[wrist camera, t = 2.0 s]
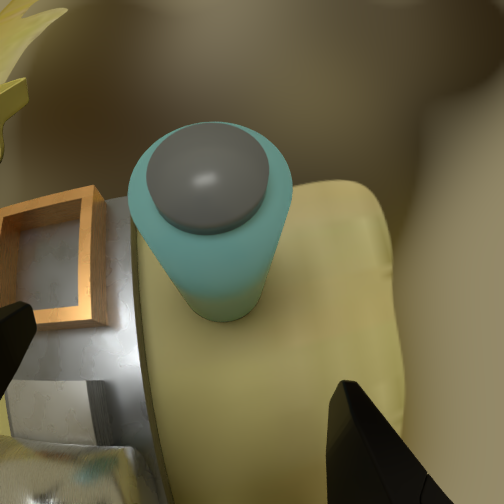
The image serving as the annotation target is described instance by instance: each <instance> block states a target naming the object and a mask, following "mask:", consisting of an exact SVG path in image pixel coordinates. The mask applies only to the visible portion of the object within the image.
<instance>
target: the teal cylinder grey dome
mask: <svg viewBox="0 0 504 504" xmlns="http://www.w3.org/2000/svg"><path fill="white" fill-rule="evenodd" d="M292 191H293V190H292V178H291V173H290V170H289V167H288V165H287V163H286V161H285V159H284V157H283V156H282V154H281V153H280V152H279V150H278V149H277V148H276V147H275V146H274V145H273V144H272V143H271V142H270V141H269V140H267V139H266V138H265V137H264V136H262V135H260V134H259V133H257V132H255V131H253V130H251V129H249V128H246V127H243V126H240V125H236V124H232V123H225V122H203V123H197V124H192V125H188V126H185V127H182V128H179V129H177V130H174V131H172V132H171V133H169V134H167V135H165V136H164V137H162V138H160V139H159V140H158V141H156V142H155V143H154V144H153V145H152V146H150V148H149V149H148V150H147V151H146V152H145V153H144V154H143V155H142V157H141V158H140V160H139V161H138V163H137V164H136V166H135V168H134V170H133V173H132V175H131V179H130V182H129V188H128V205H129V209H130V214H131V216H132V219H133V221H134V223H135V225H136V227H137V228H138V230H139V232H140V233H141V235H142V236H143V238H144V240H145V241H146V243H147V244H148V246H149V247H150V249H151V250H152V252H153V253H154V255H155V256H156V258H157V259H158V261H159V262H160V264H161V265H162V267H163V268H164V270H165V271H166V273H167V274H168V276H169V277H170V279H171V280H172V282H173V283H174V285H175V286H176V287H177V289H178V290H179V292H180V293H181V295H182V296H183V297H184V299H185V300H186V302H187V303H188V305H189V306H190V307H191V308H192V309H193V311H195V312H196V313H197V314H198V315H200V316H201V317H203V318H205V319H208V320H211V321H215V322H229V321H234V320H237V319H239V318H241V317H243V316H245V315H246V314H247V313H249V312H250V311H251V310H252V309H253V308H254V306H255V305H256V304H257V302H258V300H259V298H260V296H261V293H262V290H263V287H264V284H265V281H266V278H267V275H268V272H269V269H270V266H271V263H272V260H273V257H274V254H275V251H276V247H277V244H278V241H279V238H280V235H281V232H282V229H283V226H284V223H285V220H286V217H287V214H288V211H289V207H290V204H291V200H292Z"/></svg>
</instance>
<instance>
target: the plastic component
mask: <svg viewBox="0 0 504 504" xmlns="http://www.w3.org/2000/svg"><path fill="white" fill-rule="evenodd" d="M28 102H29V96H28V89H27V83H26V78H20V79H17V80H13V81H10V82H7V83H4V84H1V85H0V163H1V161H2V159H3V155H4V140H3V126H4V123H5V122H6V121H7V120H8V119H9V118H10V117H12V116H13V115H14V114H15V113H16V112H18V111H19V110H20V109H22V108H23V107H24V106H26V104H27V103H28Z"/></svg>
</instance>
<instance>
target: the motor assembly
mask: <svg viewBox="0 0 504 504" xmlns="http://www.w3.org/2000/svg"><path fill="white" fill-rule="evenodd" d="M18 301H23V302H26V303H28V304H30V305H31V306H32V308H33V312H34V316H35V320H36V324H37V331H36V334H35V336H34V338H33V340H32V342H31V344H30V346H29V348H28V350H27V352H26V354H25V356H24V358H23V360H22V362H21V364H20V366H19V368H18V370H17V372H16V374H15V376H14V377H13V379H12V381H11V382H10V384H9V386H8V388H7V389H6V391H5V400H6V407H7V414H8V420H9V425H10V431H11V436H12V437H10V436H4V435H0V504H174V500H173V496H172V492H171V488H170V485H169V481H168V476H167V472H166V468H165V464H164V459H163V455H162V450H161V445H160V441H159V436H158V431H157V425H156V420H155V414H154V409H153V403H152V397H151V390H150V384H149V377H148V370H147V363H146V355H145V347H144V338H143V328H142V318H141V307H140V294H139V280H138V262H137V235H136V225H135V223H134V221H133V219H132V216H131V214H130V209H129V205H128V196H125V197H120V198H115V199H109V200H104V199H103V198H102V196H101V195H100V193H99V192H98V190H97V189H96V188H95V186H94V185H91V186H86V187H82V188H78V189H73V190H68V191H64V192H60V193H56V194H52V195H48V196H44V197H40V198H36V199H32V200H29V201H25V202H21V203H18V204H14V205H10V206H7V207H4V208H0V308H1V307H4V306H7V305H10V304H12V303H15V302H18Z"/></svg>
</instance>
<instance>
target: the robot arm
mask: <svg viewBox="0 0 504 504" xmlns="http://www.w3.org/2000/svg"><path fill="white" fill-rule="evenodd" d="M36 331H37V324H36V320H35V316H34V312H33V308H32V306H31V305H30V304H28V303H26V302H23V301H18V302H15V303H12V304H10V305H7V306H4V307H1V308H0V400H1V398H2V396H3V395H4V393H5V391H6V389H7V388H8V386H9V384H10V382H11V381H12V379H13V377H14V376H15V374H16V372H17V370H18V368H19V366H20V364H21V362H22V360H23V358H24V356H25V354H26V352H27V350H28V348H29V346H30V344H31V342H32V340H33V338H34V336H35V334H36ZM326 472H327V501H328V504H454V503H453V502H452V501H451V500H450V499H449V498H448V497H447V496H446V494H445V493H444V492H443V491H442V490H441V488H440V487H439V486H438V485H437V484H436V482H435V481H434V480H433V478H432V477H431V476H430V475H429V474H427V471H426V470H425V468H424V467H423V466H422V465H421V463H420V462H419V461H418V459H417V458H416V457H415V456H414V454H413V453H412V452H411V451H410V449H409V448H408V447H407V445H406V444H405V443H404V442H403V440H402V439H401V438H400V436H399V435H398V434H397V433H396V431H395V430H394V429H393V428H392V426H391V425H390V424H389V422H388V421H387V420H386V419H385V417H384V416H383V415H382V413H381V412H380V411H379V410H378V408H377V407H376V406H375V405H374V403H373V402H372V401H371V399H370V398H369V397H368V396H367V394H366V393H365V392H364V391H363V389H362V388H361V387H360V385H359V384H358V383H357V382H356V381H349V380H342V381H340V382H339V384H338V386H337V388H336V390H335V392H334V394H333V396H332V398H331V400H330V403H329V414H328V431H327V445H326Z"/></svg>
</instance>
